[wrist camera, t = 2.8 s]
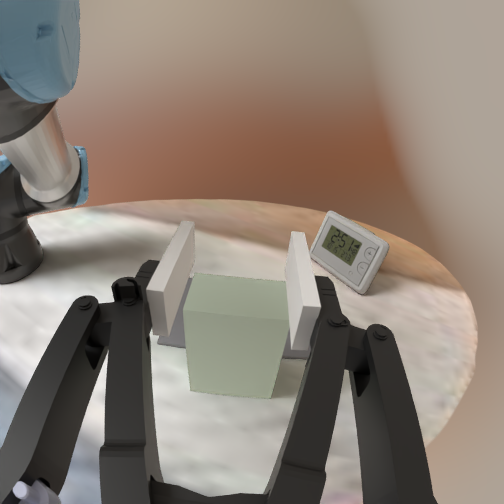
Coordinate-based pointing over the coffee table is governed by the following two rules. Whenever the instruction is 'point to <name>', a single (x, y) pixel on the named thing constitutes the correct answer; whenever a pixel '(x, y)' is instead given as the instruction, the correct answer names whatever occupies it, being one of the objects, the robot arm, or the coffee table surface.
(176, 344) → the felt pad
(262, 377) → the sage block
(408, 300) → the coffee table surface
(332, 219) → the digital clock
